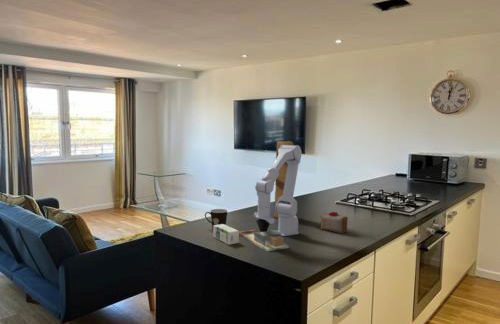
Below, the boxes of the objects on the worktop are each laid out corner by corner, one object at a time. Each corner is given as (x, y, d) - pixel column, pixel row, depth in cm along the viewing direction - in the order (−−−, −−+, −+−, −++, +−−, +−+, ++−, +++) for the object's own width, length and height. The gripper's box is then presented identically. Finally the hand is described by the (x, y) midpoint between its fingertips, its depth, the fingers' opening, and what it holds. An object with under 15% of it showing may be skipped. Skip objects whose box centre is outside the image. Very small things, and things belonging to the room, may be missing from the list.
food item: (317, 229, 188) (318, 211, 187) (325, 226, 194) (326, 208, 193) (341, 234, 179) (342, 215, 178) (349, 231, 185) (349, 212, 185)
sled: (269, 239, 166) (269, 230, 165) (284, 247, 155) (284, 237, 155) (259, 240, 163) (260, 232, 163) (274, 248, 153) (274, 239, 152)
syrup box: (228, 245, 160) (212, 236, 171) (239, 242, 163) (222, 234, 175) (228, 232, 159) (212, 225, 171) (239, 230, 162) (223, 223, 174)
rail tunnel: (257, 231, 181) (257, 220, 181) (288, 247, 158) (289, 235, 157) (237, 234, 176) (237, 223, 176) (267, 251, 152) (267, 238, 152)
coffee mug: (230, 230, 183) (231, 211, 182) (217, 233, 177) (217, 213, 176) (216, 225, 191) (216, 207, 190) (203, 228, 185) (203, 209, 184)
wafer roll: (286, 214, 220) (289, 140, 216) (294, 218, 210) (296, 141, 206) (271, 215, 217) (272, 140, 213) (277, 219, 207) (279, 141, 203)
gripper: (248, 204, 169) (248, 232, 170) (264, 210, 156) (264, 240, 157) (261, 202, 172) (260, 230, 173) (278, 208, 159) (277, 238, 161)
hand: (263, 235), depth 165 cm, fingers closed
